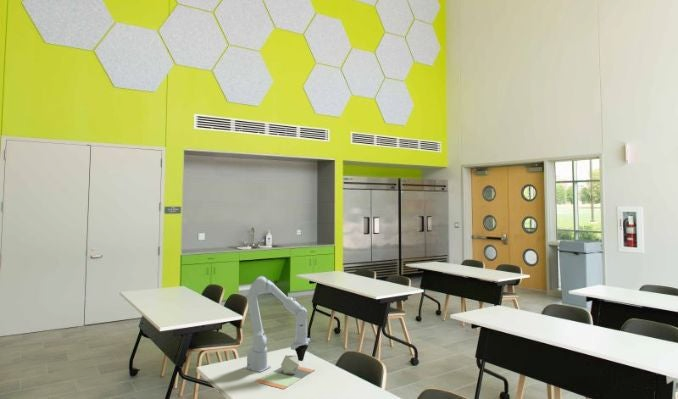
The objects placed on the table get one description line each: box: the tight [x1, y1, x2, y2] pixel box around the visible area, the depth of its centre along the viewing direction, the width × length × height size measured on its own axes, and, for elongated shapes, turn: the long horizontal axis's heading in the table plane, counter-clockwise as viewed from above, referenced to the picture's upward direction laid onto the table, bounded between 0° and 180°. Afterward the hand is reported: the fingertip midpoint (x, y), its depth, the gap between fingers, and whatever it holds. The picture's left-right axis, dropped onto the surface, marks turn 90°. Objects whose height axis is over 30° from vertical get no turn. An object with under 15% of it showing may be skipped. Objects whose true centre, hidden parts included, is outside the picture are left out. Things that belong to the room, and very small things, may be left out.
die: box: [280, 355, 300, 374], centre depth 195 cm, size 8×9×10 cm
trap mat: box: [254, 366, 315, 390], centre depth 192 cm, size 16×25×1 cm, turn 151°
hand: (300, 360), depth 203 cm, fingers closed
